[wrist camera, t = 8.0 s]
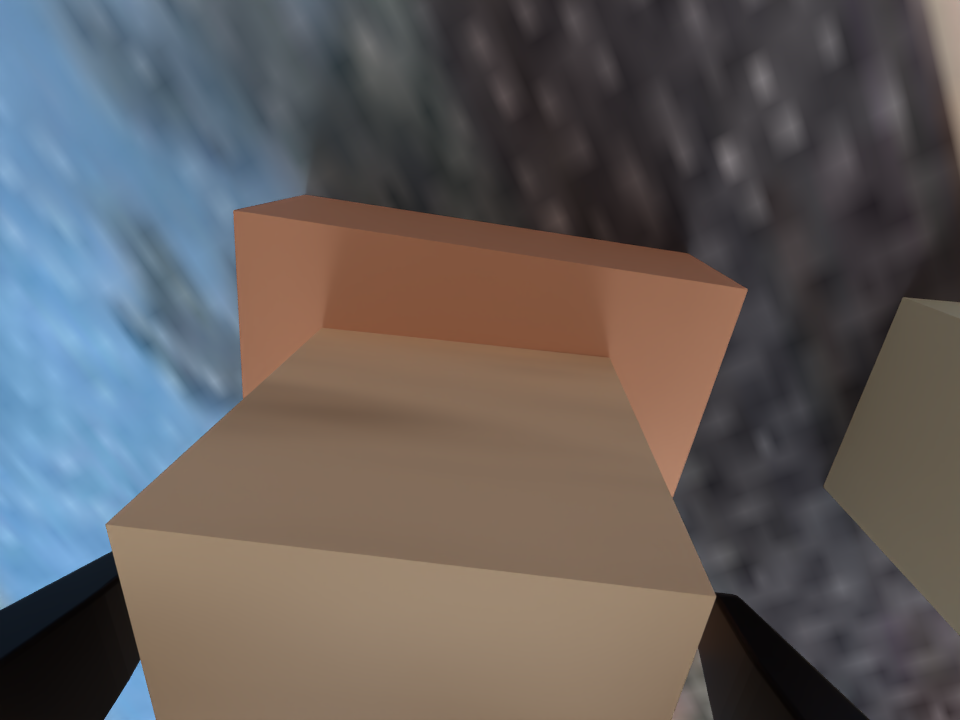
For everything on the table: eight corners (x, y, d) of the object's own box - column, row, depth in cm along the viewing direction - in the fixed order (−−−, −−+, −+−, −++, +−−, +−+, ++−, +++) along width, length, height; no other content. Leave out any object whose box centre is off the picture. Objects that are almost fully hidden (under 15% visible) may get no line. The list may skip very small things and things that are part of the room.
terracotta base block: (596, 540, 17) (618, 646, 14) (308, 495, 17) (253, 589, 14) (682, 250, 13) (747, 289, 10) (311, 193, 13) (233, 210, 10)
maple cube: (565, 576, 13) (602, 906, 7) (330, 548, 13) (190, 849, 7) (609, 357, 10) (717, 597, 5) (322, 327, 10) (104, 524, 5)
